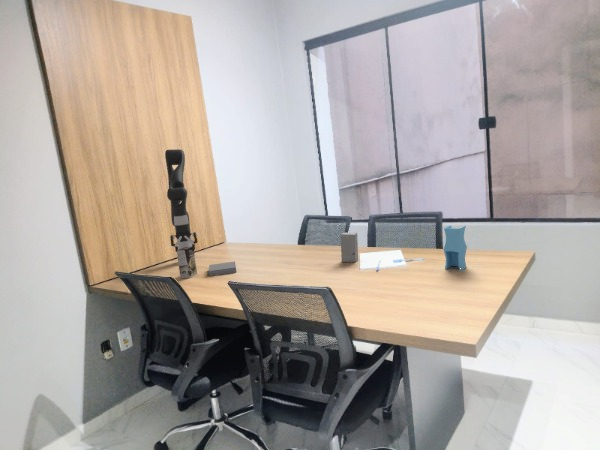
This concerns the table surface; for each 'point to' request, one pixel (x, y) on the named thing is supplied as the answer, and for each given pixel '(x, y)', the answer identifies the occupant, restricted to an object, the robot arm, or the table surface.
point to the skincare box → (349, 247)
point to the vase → (455, 247)
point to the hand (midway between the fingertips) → (185, 251)
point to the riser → (222, 268)
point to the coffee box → (186, 262)
